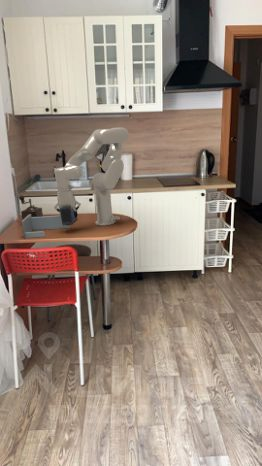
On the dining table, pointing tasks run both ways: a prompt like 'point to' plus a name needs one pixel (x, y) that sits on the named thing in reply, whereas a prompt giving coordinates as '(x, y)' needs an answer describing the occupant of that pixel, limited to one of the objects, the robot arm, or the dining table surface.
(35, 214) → the coffee grinder
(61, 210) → the small box
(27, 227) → the shelf
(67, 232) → the dining table surface
